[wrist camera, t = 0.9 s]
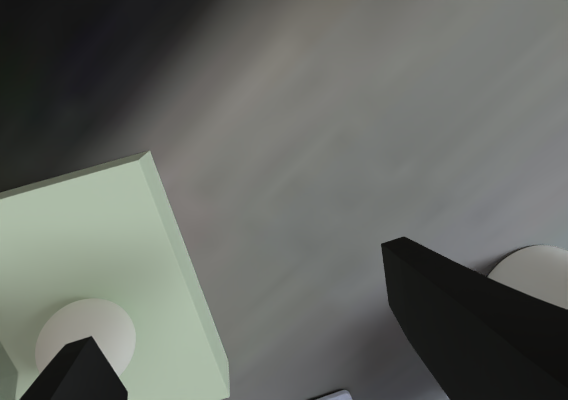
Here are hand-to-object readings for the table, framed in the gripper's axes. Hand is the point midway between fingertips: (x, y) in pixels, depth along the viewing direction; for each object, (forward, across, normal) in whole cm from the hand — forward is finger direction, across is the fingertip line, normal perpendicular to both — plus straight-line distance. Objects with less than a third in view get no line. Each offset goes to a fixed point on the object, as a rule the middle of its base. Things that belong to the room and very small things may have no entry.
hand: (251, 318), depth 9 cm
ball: (+7, +8, +5) cm, 12 cm away
